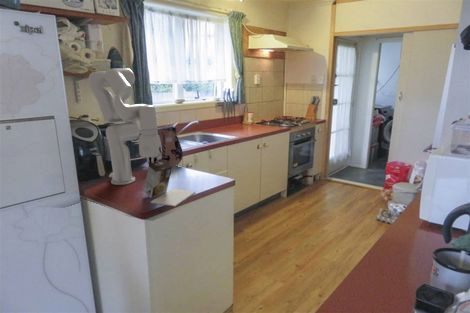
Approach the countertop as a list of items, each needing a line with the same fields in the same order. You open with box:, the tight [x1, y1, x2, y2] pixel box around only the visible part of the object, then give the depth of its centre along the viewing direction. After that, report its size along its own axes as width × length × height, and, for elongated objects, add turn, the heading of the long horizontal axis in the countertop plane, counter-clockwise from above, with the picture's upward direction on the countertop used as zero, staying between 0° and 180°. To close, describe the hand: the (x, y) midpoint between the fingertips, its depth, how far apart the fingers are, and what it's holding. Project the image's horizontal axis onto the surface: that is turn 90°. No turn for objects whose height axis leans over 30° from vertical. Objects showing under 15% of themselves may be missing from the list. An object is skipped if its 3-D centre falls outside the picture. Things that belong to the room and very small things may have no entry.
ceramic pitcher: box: [157, 124, 184, 168], centre depth 203 cm, size 18×21×25 cm
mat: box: [150, 188, 197, 208], centre depth 152 cm, size 13×18×1 cm
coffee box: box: [143, 160, 173, 200], centre depth 152 cm, size 9×6×16 cm
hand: (153, 170), depth 153 cm, fingers closed
